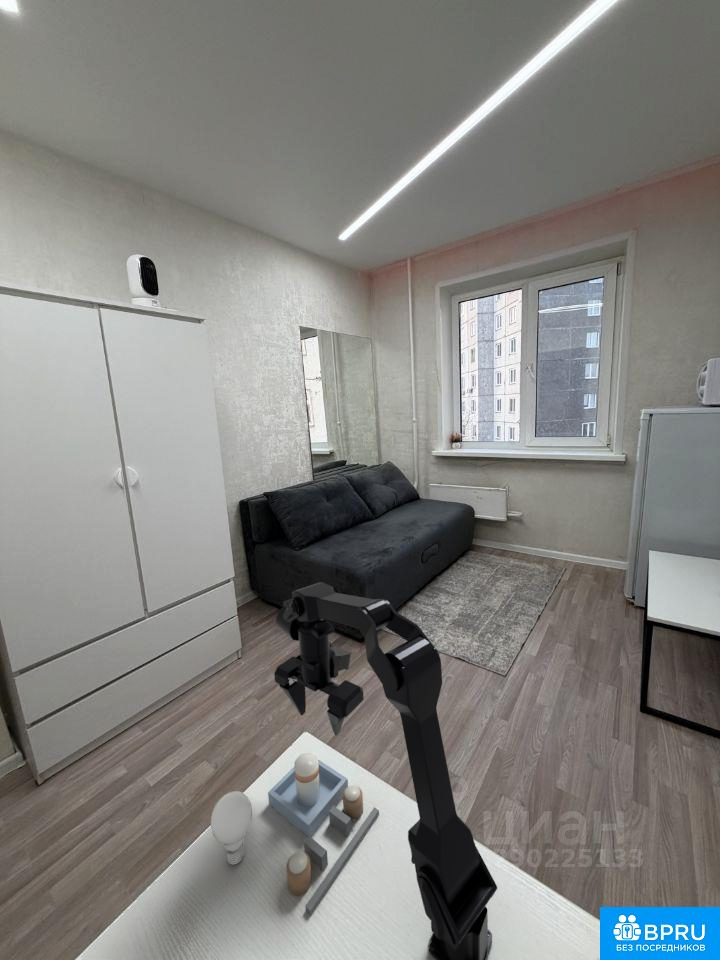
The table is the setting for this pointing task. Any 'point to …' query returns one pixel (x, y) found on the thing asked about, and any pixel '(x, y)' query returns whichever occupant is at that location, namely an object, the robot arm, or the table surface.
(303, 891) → the cylinder
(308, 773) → the cylinder
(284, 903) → the table surface
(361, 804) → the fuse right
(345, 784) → the tray
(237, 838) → the lightbulb
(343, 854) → the grey bar and blocks
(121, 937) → the table surface
